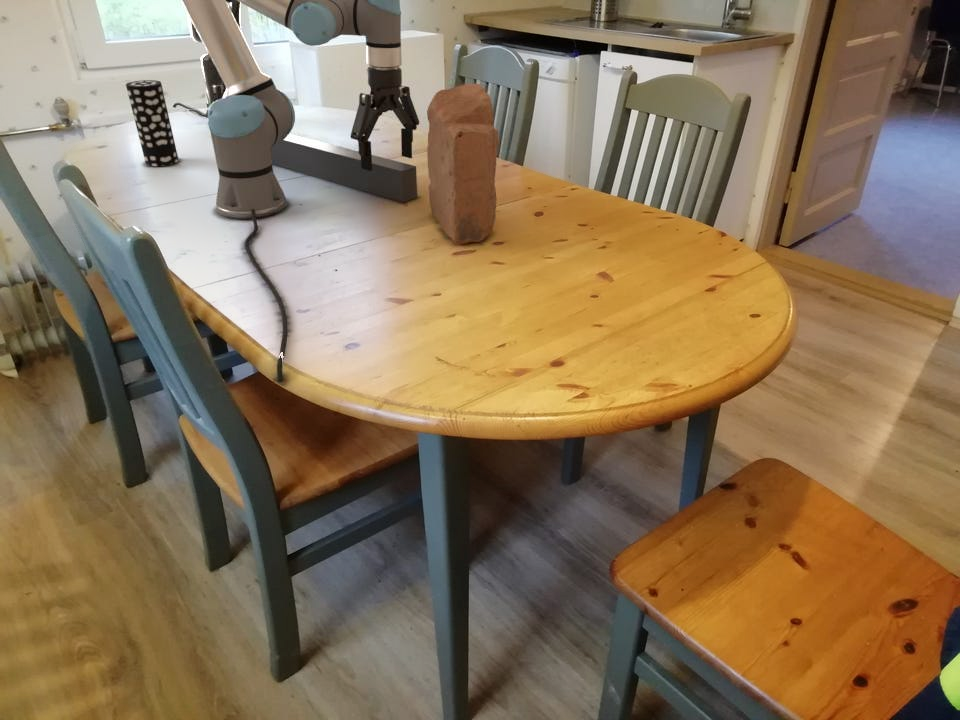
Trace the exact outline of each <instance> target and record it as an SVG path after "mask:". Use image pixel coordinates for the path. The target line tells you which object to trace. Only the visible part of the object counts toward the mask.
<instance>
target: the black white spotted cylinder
mask: <svg viewBox="0 0 960 720" xmlns="http://www.w3.org/2000/svg"><path fill="white" fill-rule="evenodd" d="M125 87H126V91H127V95H128V99H129V103H130V107H131V110H132V115H133V118H134V122H135V123H134V124H135V127H136V130H137V134H138V139H139V143H140V146H141V150H142V155H143V158H144V163H145V164H146V165H147V166H151V167H164V166H170V165H174V164H176V163H178V162H179V155H178V150H177V146H176V142H175V137H174V133H173V128H172V125H171V121H170V116H169V111H168V107H167V103H166V98H165V93H164V89H163V84H162V81H161V80H155V79H154V80H153V79H151V80H150V79H145V80H144V79H141V80H134V81H130V82H129V81H128V82H127V83H126V84H125Z"/></svg>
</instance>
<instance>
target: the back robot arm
mask: <svg viewBox="0 0 960 720" xmlns="http://www.w3.org/2000/svg"><path fill="white" fill-rule="evenodd" d="M226 2H227V4H229V5H228V6H229V8H230V10H231V12H232V14H233V16H234V18H235V20H236V22H237V24H238V26H239V28H240V30H241V32H242V25H241V5H242V3H241V2H239V1H237V0H226ZM187 22H188V28H189V32H190V36H191V38H192V39H193V41H194V42H196V43H200V44H201V43H202V44H204V43H203V42H202V40H201V38H200V36H199V34H198V32H197V30H196V28H195V26H194V24H193V22H192V20H191V19H190V17H189V15H188V14H187ZM242 33H243V32H242ZM200 62H201V69H202V73H203V77H204V82H205V87H206V88H205V89H206V92H205V93H206V94H205V95H206V100H207V101H206V103H205V104H206V108H207V109H206V113H204V112H202V111H201V110H199V109H197V108H195V107H192V106H188V105H186V104H183V103H181V102H175V103H173V105H172V108H176V107H177V106H180V107H182V108H184V109H187V110H190V111H193V112H195V113H198V114H199V115H201V116H202V117H208V108H209V106H210V105H211V104H212V103H213V102H215V101H216V100H219V99H221V98H224V95H225V91H226V86H225V84H224V82H223V80H222V78H221V76H220V74H219V72H218V70H217V68H216V66H215V65H214V63H213V61H212V59H211V57H210V55H209V53H208V52H207V53H205V54H203V55H202V56H201V57H200Z"/></svg>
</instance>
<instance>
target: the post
mask: <svg viewBox="0 0 960 720" xmlns="http://www.w3.org/2000/svg"><path fill="white" fill-rule="evenodd" d="M270 153H271V160H272V165H275V166H278V167H281V168H284V169H287V170H291V171H294V172H298V173H301V174H305V175H308V176H312V177H315V178H318V179H322V180H324V181H325V180H326V181H328V182H332V183H335V184H338V185H342V186H345V187H349V188H353V189H356V190H360V191H363V192H366V193H370V194H373V195H375V196H379V197H383V198H386V199H389V200H392V201H396V202H400V203H406V202H409V201H412V200H414V199H416V198H418V180H417V179H418V178H417V177H418V176H417V165H413V164H409V163H405V162H401V161H398V160H394V159H391V158H385V157H382V156H377V155H375V154H371V155H372V170H371V171H368V170H365V169H362V168H361V155H359V150H355V149H351V148H347V147H342V146H338V145H335V144H331V143H328V142H323V141H320V140H316V139H311V138H308V137H303V136H300V135H296V134H292V133H289V134H288V136H287V137H286V138H285V139H284V140H283V141H281V142H279V143H277V144H276V145H274V146H273V147H272V148H271V149H270Z"/></svg>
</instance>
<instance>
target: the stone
mask: <svg viewBox="0 0 960 720" xmlns="http://www.w3.org/2000/svg"><path fill="white" fill-rule="evenodd" d="M426 110H427V111H426V114H427V120H428V133H427V148H426V159H427V170H428V178H429V181H430V183H429V186H428V195H429V196H428V197H429V206H430V210H431V213H432V215H433V216H434V218H435V220H436V222H437V223H438V224H439V225H440V227H441V229H442V231H443V232H444V233H445V235H446V236H447V238H450V239H451V240H452V242H453V243H455V244H463V245H464V244H468V243H475V242H482V241H484V240H485V238H487V236H488V235H491V234H492V232H493V231H494V230H493V229H494V225H495V223H496V215H497V214H496V209H497V200H498V199H497V198H498V197H497V188H496V184H495V183H496V179H495V178H496V174H497V173H496V170H497V157H498V149H499V144H500V143H499V142H500V141H499V139H500V135H499V130H497V129H496V128H495V125H494V108H493V104H492V99H491V97H490V95H489V93H487V92H486V89H485V88H484V87H483V86H482V84H480V83H465V84H461V85H457V86H453V87H451V88H448V89H447V88H446V89H440V90H438V91H437V92H436V93H435V94H434V95H433V97H432V99H431V101H430V103H429V104H428V106H427V109H426Z"/></svg>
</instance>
